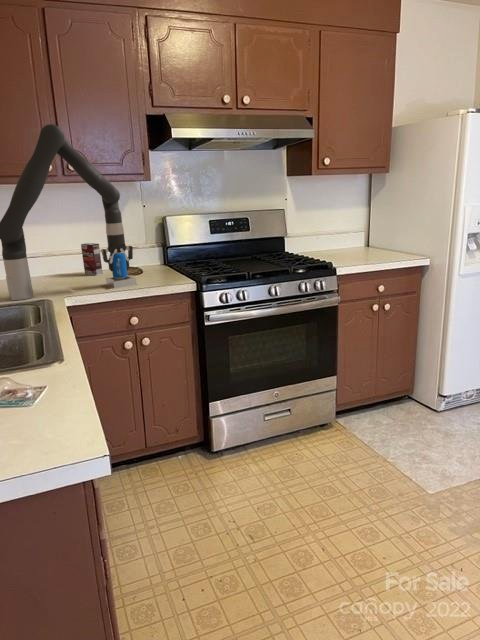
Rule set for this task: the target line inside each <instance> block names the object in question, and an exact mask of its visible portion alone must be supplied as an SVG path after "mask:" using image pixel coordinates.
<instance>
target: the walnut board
mask: <svg viewBox="0 0 480 640" xmlns="http://www.w3.org/2000/svg"><path fill="white" fill-rule="evenodd" d="M99 287H100V288H102V289H104V290H107V291H108V290H113V289H114V288H113V287H111V286H109V285H107V284H102V285H99Z"/></svg>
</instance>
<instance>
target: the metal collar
mask: <svg viewBox="0 0 480 640" xmlns="http://www.w3.org/2000/svg"><path fill="white" fill-rule="evenodd" d="M127 275H128V276H127V277H126V278H125V279H115V278H113V276H110V277H106V278H105V283H106V284H105V285H109V286H111V287H113V289H117V288H119V289H120V288H123V287H124V288H125V287H130V286H135V285H138V283H137V278H136V277H135V276H132V275H129V274H127Z"/></svg>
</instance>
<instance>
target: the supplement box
mask: <svg viewBox="0 0 480 640" xmlns="http://www.w3.org/2000/svg"><path fill="white" fill-rule="evenodd" d="M80 248H81V254H82V262H83V269H84V275H88V276H89V275H90V276H100V275H102V274H103V267H102V260H101V259H102V258H101V249H100V243H91V242H86V243H81V244H80Z"/></svg>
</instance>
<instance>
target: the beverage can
mask: <svg viewBox="0 0 480 640" xmlns="http://www.w3.org/2000/svg"><path fill="white" fill-rule="evenodd" d="M125 254H126V253H125ZM125 254H124V253H123V252H121V253H114V255H113V262H112V263H113V270H114V271H113V272H112V277H113V278H115V279H125V278H126V277H127V276H128V275H129V274H128V269H127V266H126V257H125ZM109 256H112V254H111V255H110V254H109Z"/></svg>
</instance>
